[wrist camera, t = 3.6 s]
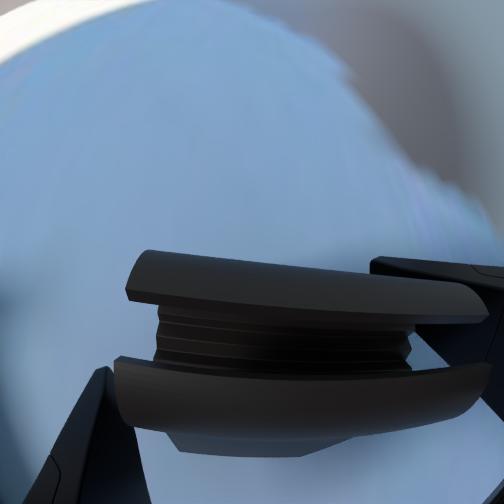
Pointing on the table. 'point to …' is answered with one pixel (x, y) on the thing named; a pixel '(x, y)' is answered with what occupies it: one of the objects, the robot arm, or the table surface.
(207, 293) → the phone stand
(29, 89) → the table surface
